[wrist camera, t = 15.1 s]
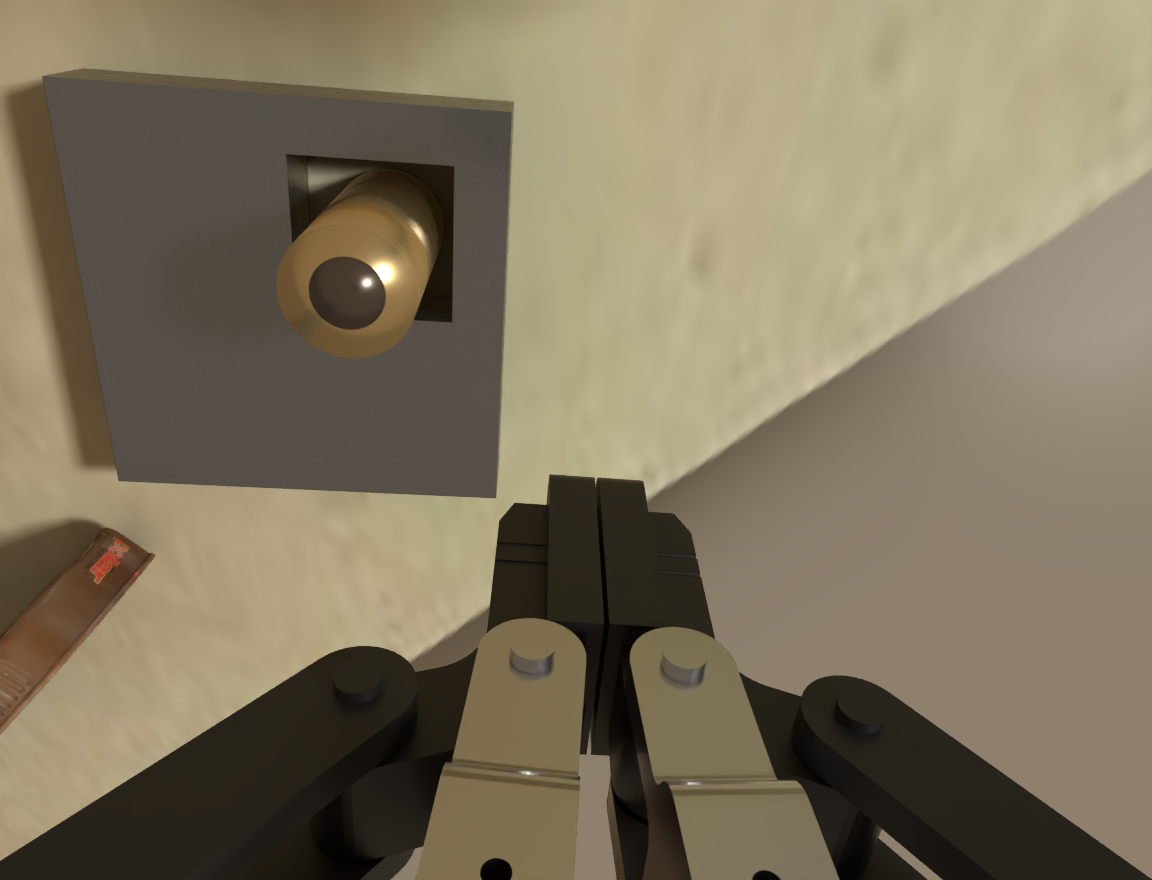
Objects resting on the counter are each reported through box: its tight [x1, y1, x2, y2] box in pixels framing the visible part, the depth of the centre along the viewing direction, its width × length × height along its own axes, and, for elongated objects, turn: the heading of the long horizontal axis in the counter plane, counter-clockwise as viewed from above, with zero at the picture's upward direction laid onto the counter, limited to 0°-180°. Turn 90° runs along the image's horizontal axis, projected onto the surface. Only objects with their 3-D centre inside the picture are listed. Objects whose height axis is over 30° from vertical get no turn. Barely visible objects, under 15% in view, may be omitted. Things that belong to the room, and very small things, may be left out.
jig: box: [42, 69, 514, 498], centre depth 35 cm, size 16×16×3 cm
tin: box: [0, 528, 155, 735], centre depth 40 cm, size 15×3×8 cm, turn 136°
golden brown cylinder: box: [276, 169, 444, 358], centre depth 32 cm, size 4×4×9 cm
